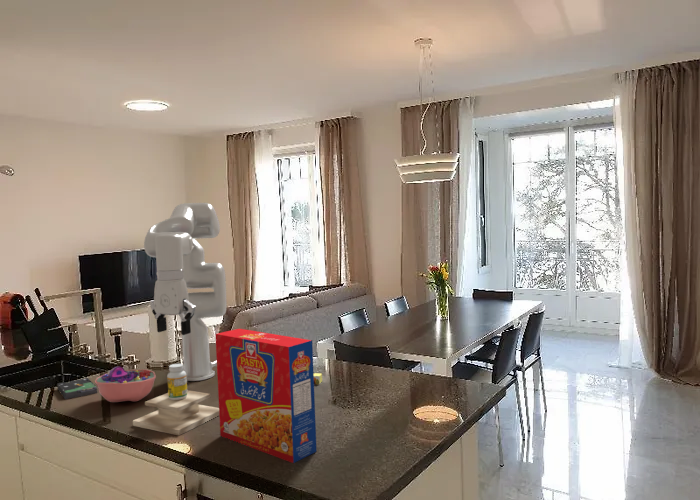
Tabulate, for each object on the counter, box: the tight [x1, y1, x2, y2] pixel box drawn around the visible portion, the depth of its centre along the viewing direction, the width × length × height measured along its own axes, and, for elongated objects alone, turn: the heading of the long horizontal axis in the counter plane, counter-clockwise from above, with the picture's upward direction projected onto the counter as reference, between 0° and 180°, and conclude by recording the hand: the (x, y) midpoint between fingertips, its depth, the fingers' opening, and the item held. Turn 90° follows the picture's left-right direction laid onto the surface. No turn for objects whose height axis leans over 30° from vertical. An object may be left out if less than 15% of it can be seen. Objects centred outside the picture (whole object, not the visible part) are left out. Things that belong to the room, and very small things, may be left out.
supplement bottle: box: [166, 363, 188, 400], centre depth 162 cm, size 5×5×10 cm
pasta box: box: [214, 328, 318, 464], centre depth 142 cm, size 28×8×28 cm, turn 50°
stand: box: [132, 389, 219, 436], centre depth 162 cm, size 18×18×6 cm
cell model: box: [94, 365, 157, 403], centre depth 181 cm, size 17×20×11 cm
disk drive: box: [56, 377, 98, 400], centre depth 194 cm, size 10×3×15 cm
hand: (173, 332), depth 165 cm, fingers open, 9 cm apart
